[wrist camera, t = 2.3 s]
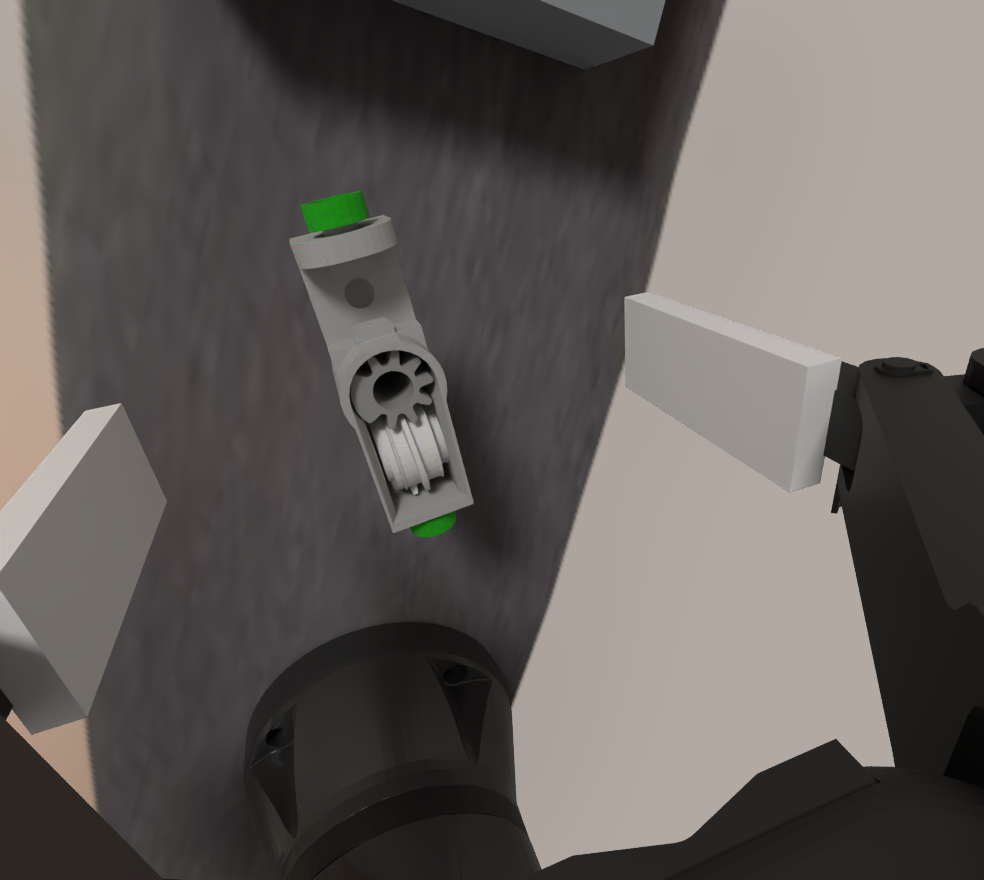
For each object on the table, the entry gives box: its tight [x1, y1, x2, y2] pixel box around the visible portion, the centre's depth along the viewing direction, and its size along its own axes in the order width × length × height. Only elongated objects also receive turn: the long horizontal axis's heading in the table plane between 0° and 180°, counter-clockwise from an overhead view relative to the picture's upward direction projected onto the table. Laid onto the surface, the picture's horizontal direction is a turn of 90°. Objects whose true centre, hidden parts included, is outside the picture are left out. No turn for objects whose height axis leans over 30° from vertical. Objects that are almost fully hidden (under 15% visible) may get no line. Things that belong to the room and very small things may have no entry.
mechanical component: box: [290, 191, 474, 537], centre depth 20 cm, size 3×10×10 cm, turn 12°
